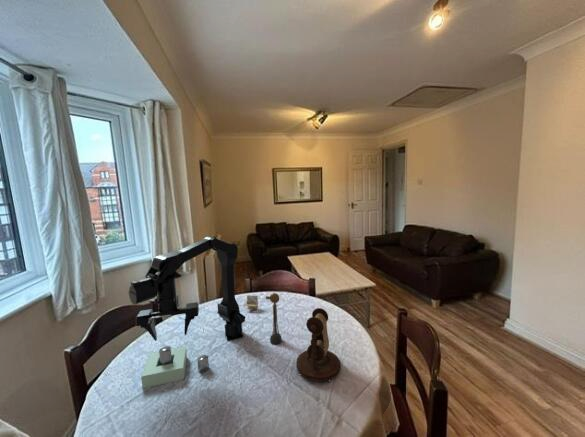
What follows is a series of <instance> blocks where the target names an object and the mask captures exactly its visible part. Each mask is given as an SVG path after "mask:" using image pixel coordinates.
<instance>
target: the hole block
mask: <svg viewBox="0 0 585 437" xmlns="http://www.w3.org/2000/svg"><path fill="white" fill-rule="evenodd" d="M171 358H172V364H167V365H162V366H160V355H159V351H158V352H152V353H149V354H148V356H147V360H146V363H145V365H144V367H143V371H142V374H141V385H142V386H141V387H142V389H146V388H150V387H155V386H159V385H165V384H168V383H173V382H177V381H182V380H185V375H186V374H185V373H186V367H187V359H188V354H187V346H183V347H177V348H171Z"/></svg>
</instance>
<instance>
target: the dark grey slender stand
mask: <svg viewBox="0 0 585 437" xmlns="http://www.w3.org/2000/svg"><path fill="white" fill-rule="evenodd" d="M265 299H266V300H270V302H271V303H272V315H273V316H272V319H273V320H272V321H273V322H272V323H273V326H272V334H271V335H270V339H269V341H270V344H271V345H275V346H276V345H281V343H282V342H283V339H282V336H281V333H280V332H279V326H278V325H279V323H278V311H277V310H278V309H277V308H278V307H277V306H278V305H277V303H278V302H280V295H279V294H278V293H275V292H273V293H271V294H270V296H265Z"/></svg>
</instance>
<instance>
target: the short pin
mask: <svg viewBox="0 0 585 437" xmlns="http://www.w3.org/2000/svg"><path fill="white" fill-rule="evenodd" d="M196 359H197V371H198V373H201V374H202V373H206V372H208V371H209V369H210V364H209V363H210V362H209V356H208V355H207V354H203V355H202V354H201V355H200V356H198V358H196Z"/></svg>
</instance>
